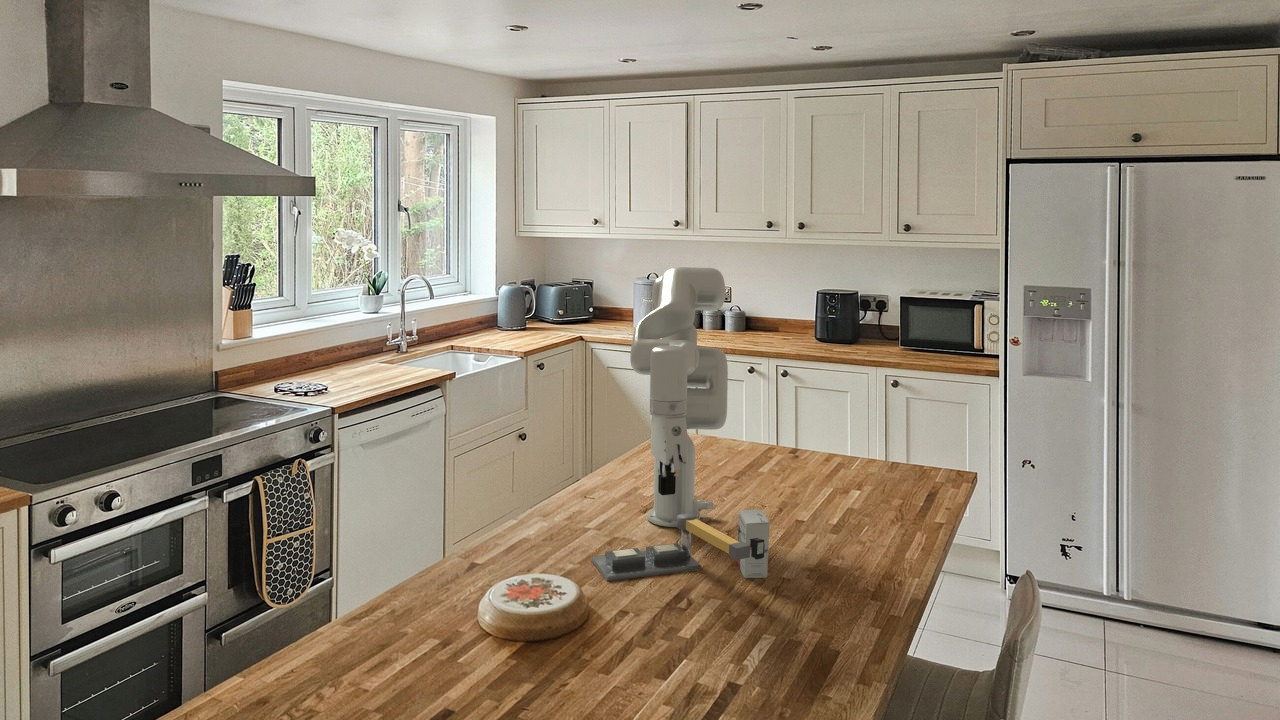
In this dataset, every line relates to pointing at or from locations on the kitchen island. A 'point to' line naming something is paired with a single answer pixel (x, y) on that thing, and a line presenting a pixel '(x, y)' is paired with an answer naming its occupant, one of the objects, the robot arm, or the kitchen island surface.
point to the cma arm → (713, 536)
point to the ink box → (754, 542)
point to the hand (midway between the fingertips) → (666, 493)
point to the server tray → (647, 560)
